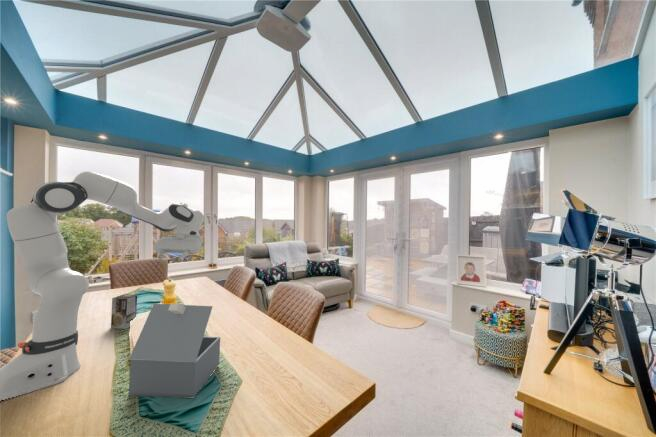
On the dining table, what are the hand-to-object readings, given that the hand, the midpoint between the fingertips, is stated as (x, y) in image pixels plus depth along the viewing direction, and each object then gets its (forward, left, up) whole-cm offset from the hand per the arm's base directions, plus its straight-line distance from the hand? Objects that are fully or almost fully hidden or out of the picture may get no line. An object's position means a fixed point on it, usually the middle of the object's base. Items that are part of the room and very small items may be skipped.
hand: (169, 259), depth 107 cm
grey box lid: (-11, -26, -22) cm, 35 cm away
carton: (-7, -24, -41) cm, 48 cm away
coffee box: (+3, +45, -42) cm, 62 cm away
